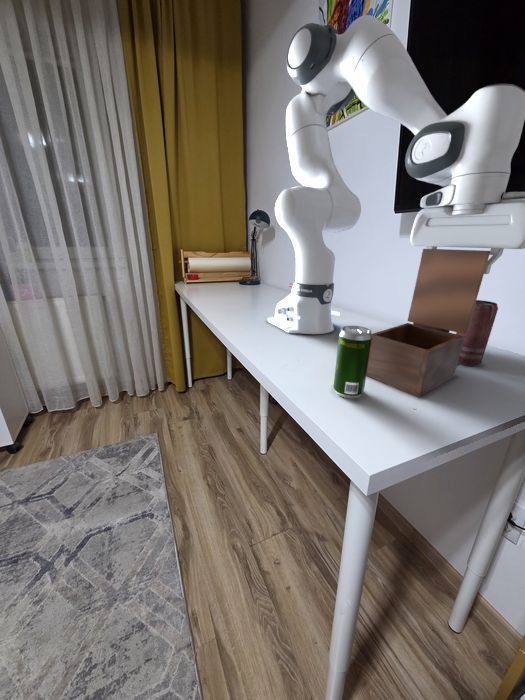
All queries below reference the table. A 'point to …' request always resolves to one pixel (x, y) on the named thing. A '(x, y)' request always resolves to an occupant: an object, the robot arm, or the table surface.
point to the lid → (447, 288)
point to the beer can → (352, 361)
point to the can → (478, 333)
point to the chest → (414, 357)
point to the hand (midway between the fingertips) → (456, 271)
